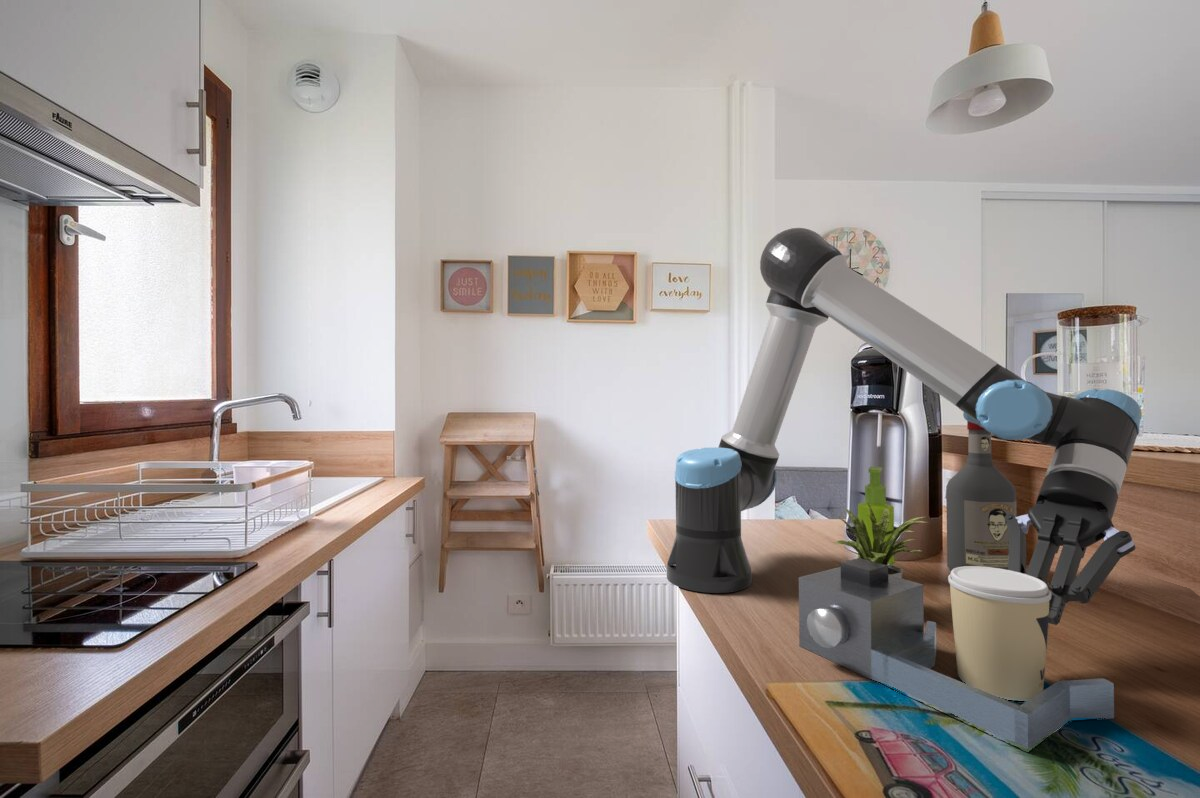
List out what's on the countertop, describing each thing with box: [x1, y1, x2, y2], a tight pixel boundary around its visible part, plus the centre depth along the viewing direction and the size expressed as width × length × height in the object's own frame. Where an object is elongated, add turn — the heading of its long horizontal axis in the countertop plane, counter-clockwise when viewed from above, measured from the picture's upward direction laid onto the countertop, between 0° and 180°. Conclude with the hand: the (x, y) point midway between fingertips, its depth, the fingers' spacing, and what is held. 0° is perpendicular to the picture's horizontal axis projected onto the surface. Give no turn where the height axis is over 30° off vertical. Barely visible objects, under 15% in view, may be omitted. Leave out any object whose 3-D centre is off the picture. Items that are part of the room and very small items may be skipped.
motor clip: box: [798, 557, 1115, 749], centre depth 61 cm, size 16×27×11 cm, turn 31°
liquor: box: [945, 420, 1018, 572], centre depth 98 cm, size 9×9×30 cm
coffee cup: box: [947, 566, 1051, 701], centre depth 60 cm, size 9×9×12 cm
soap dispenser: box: [857, 466, 895, 566], centre depth 98 cm, size 6×7×20 cm
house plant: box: [834, 502, 930, 579], centre depth 81 cm, size 14×14×16 cm
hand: (1028, 641), depth 62 cm, fingers closed
